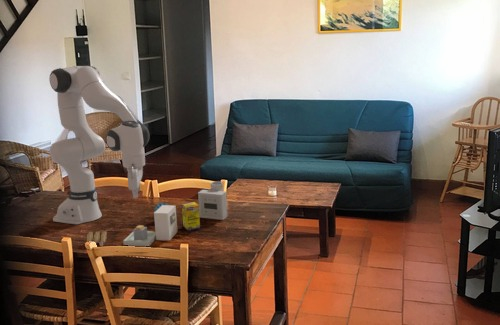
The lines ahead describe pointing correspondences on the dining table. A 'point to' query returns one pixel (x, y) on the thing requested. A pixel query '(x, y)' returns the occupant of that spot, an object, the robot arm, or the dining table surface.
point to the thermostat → (213, 202)
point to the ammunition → (97, 237)
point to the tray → (147, 242)
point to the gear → (160, 205)
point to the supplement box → (191, 216)
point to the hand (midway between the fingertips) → (136, 194)
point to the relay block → (140, 233)
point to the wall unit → (165, 222)
